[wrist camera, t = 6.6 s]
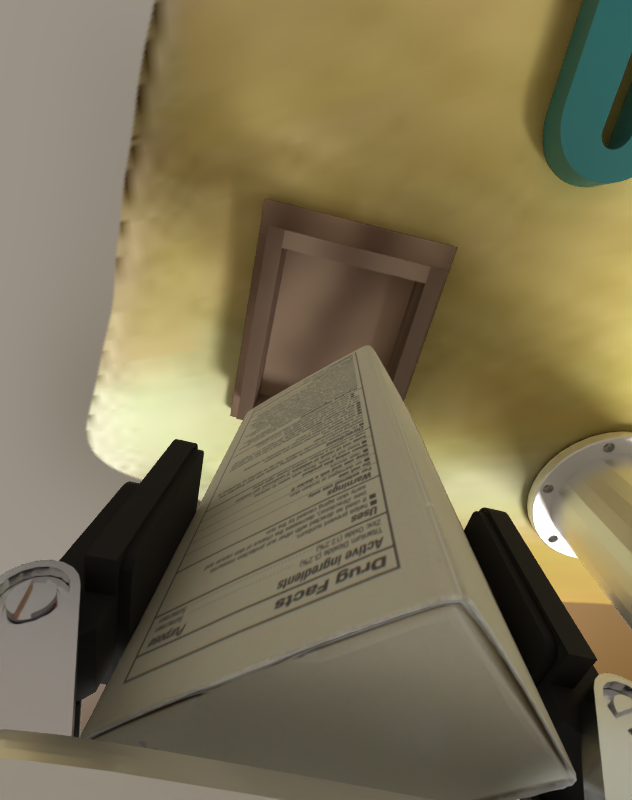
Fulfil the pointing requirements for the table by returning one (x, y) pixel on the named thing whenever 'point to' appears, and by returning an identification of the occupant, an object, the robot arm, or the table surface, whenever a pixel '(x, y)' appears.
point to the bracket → (592, 99)
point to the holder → (334, 300)
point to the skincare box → (334, 615)
